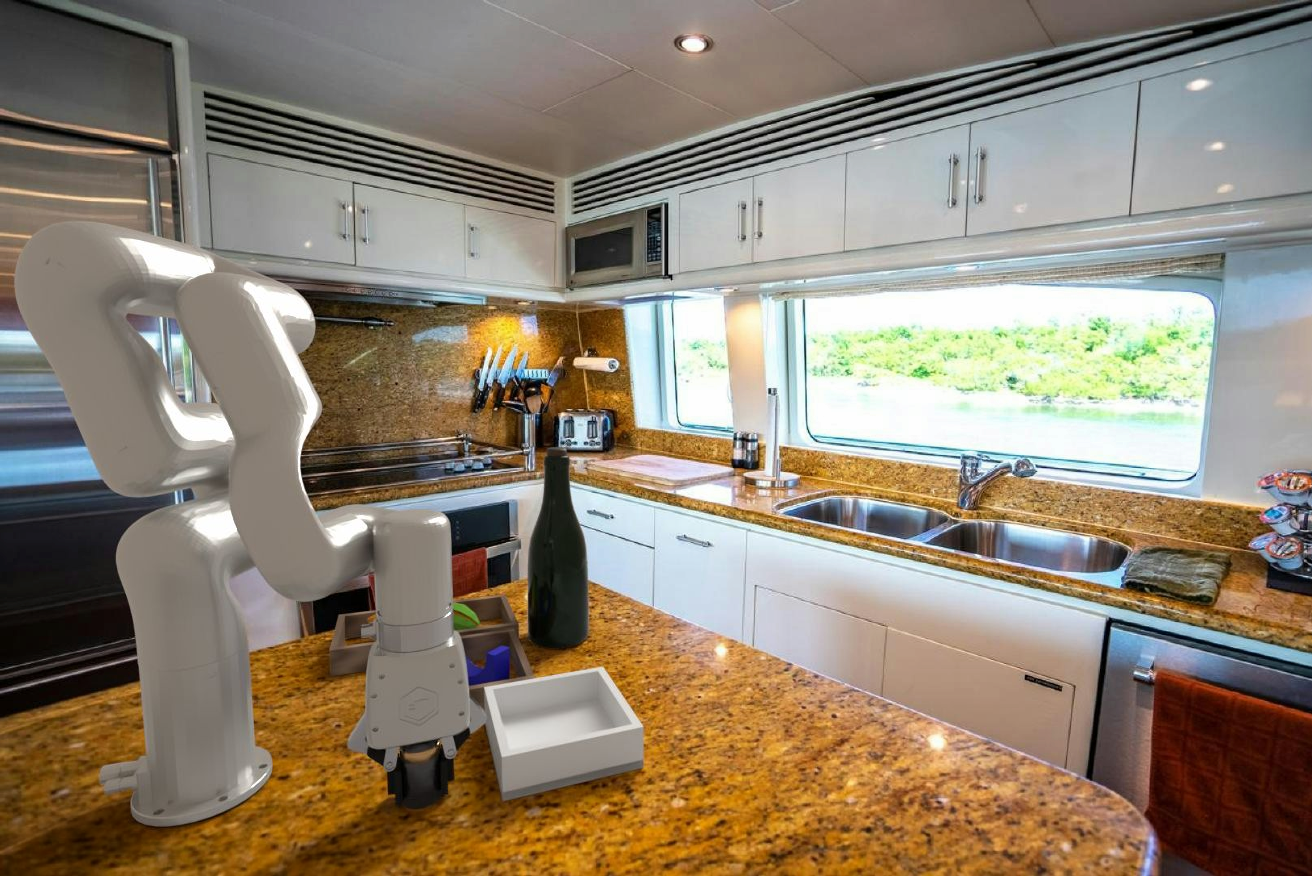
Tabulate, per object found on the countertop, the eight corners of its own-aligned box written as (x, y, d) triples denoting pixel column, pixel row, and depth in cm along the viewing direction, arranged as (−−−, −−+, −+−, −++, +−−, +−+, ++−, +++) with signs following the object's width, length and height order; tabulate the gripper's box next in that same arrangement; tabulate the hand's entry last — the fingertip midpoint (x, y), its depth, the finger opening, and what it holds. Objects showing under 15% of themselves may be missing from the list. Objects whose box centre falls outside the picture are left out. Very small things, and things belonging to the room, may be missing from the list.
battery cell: (401, 813, 66) (398, 744, 65) (401, 789, 69) (399, 723, 69) (443, 803, 67) (440, 736, 66) (440, 780, 71) (438, 716, 70)
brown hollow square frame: (393, 733, 80) (392, 703, 80) (395, 670, 97) (394, 645, 96) (535, 706, 87) (535, 678, 86) (514, 652, 103) (514, 628, 103)
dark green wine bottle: (541, 623, 115) (538, 443, 112) (596, 628, 113) (595, 444, 110) (517, 647, 105) (514, 450, 101) (578, 653, 103) (576, 452, 99)
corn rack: (330, 676, 95) (329, 650, 94) (339, 637, 109) (338, 614, 108) (519, 647, 105) (518, 624, 105) (505, 615, 119) (505, 594, 118)
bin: (502, 801, 67) (501, 757, 67) (484, 723, 82) (484, 687, 82) (643, 767, 73) (643, 726, 73) (603, 701, 88) (603, 666, 88)
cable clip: (428, 679, 94) (427, 640, 94) (452, 667, 98) (451, 630, 98) (487, 700, 88) (486, 659, 88) (510, 687, 92) (509, 647, 92)
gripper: (322, 656, 60) (331, 837, 62) (502, 630, 66) (505, 795, 68) (330, 626, 67) (338, 789, 69) (493, 606, 73) (496, 756, 75)
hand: (421, 791), depth 68 cm, fingers closed on battery cell, 4 cm apart
